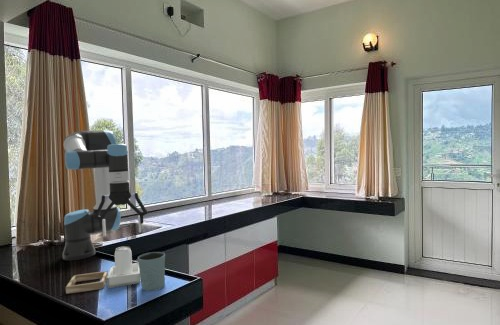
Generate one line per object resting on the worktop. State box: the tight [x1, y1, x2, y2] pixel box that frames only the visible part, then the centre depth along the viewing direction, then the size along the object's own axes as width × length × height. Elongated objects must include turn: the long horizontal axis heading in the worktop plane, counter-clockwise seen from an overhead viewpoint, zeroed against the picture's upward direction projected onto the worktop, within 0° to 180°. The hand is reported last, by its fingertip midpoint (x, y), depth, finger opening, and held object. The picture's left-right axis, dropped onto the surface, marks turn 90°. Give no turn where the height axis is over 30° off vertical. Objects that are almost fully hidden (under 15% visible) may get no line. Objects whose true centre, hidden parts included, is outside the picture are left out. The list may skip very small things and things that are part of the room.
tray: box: [106, 262, 141, 289], centre depth 137 cm, size 14×12×4 cm
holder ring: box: [65, 270, 109, 295], centre depth 133 cm, size 13×13×2 cm
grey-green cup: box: [137, 251, 166, 292], centre depth 128 cm, size 10×10×12 cm
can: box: [114, 245, 133, 276], centre depth 137 cm, size 6×6×12 cm
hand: (122, 233), depth 136 cm, fingers open, 13 cm apart
